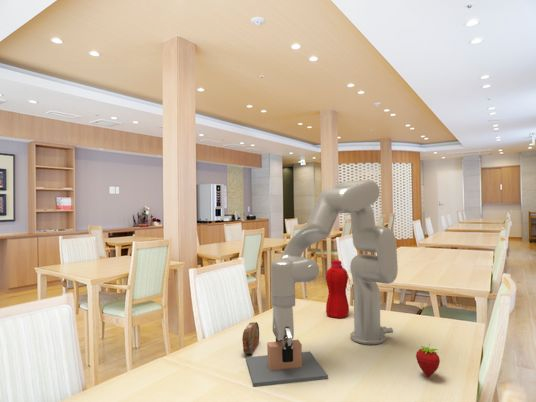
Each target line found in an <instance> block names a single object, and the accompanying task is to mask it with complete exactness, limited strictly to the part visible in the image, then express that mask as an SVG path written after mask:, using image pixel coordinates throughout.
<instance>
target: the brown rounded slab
mask: <svg viewBox="0 0 536 402" xmlns="http://www.w3.org/2000/svg"><path fill="white" fill-rule="evenodd" d="M241 339H242V340H241V341H242V349H243V353H244V354H245V355H253V354H254V353H255V351H256V349H257V348H258V346H259V343H260V326H259V323H258V322H257V321H255V322H254V321H252V322H249V323H248V324H247V325H246V327H245V329H244V330H243V332H242V337H241Z"/></svg>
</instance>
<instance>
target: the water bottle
mask: <svg viewBox="0 0 536 402" xmlns="http://www.w3.org/2000/svg"><path fill="white" fill-rule="evenodd" d="M330 264H331V267H329V268H328V269H327V271H326V273H325V281H326V286H327V289H328V290H327V291H328V295H327V301H326V304H325V305H326V306H325V313H326V316H328V317H329V318H335V319H344V318H345V317H347V316H349V312H350V309H349V307H350V305H349V301H348V297H347V291H349V292H350V289H351V288H352V287H351V284H349V289H348V285H347V284H348V281H349V283H351V280H350V277H349V274H348V271H347V270H346V269H345V268H344V267H343V265H342V260H339V259H334V260H331V262H330Z"/></svg>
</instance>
